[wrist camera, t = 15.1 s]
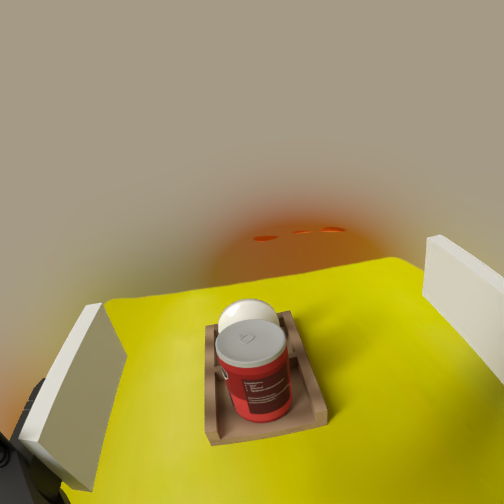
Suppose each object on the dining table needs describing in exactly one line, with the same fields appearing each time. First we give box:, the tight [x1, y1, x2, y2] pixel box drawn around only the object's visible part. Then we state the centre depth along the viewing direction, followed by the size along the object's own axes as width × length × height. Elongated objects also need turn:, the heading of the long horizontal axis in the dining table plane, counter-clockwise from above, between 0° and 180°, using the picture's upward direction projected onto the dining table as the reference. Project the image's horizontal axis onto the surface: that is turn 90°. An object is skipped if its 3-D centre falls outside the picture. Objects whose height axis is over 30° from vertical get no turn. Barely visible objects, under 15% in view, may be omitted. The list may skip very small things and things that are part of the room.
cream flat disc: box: [218, 299, 280, 333], centre depth 47 cm, size 1×9×9 cm, turn 96°
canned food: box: [215, 319, 292, 423], centre depth 36 cm, size 8×8×11 cm
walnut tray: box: [205, 311, 328, 446], centre depth 44 cm, size 22×14×3 cm, turn 6°
